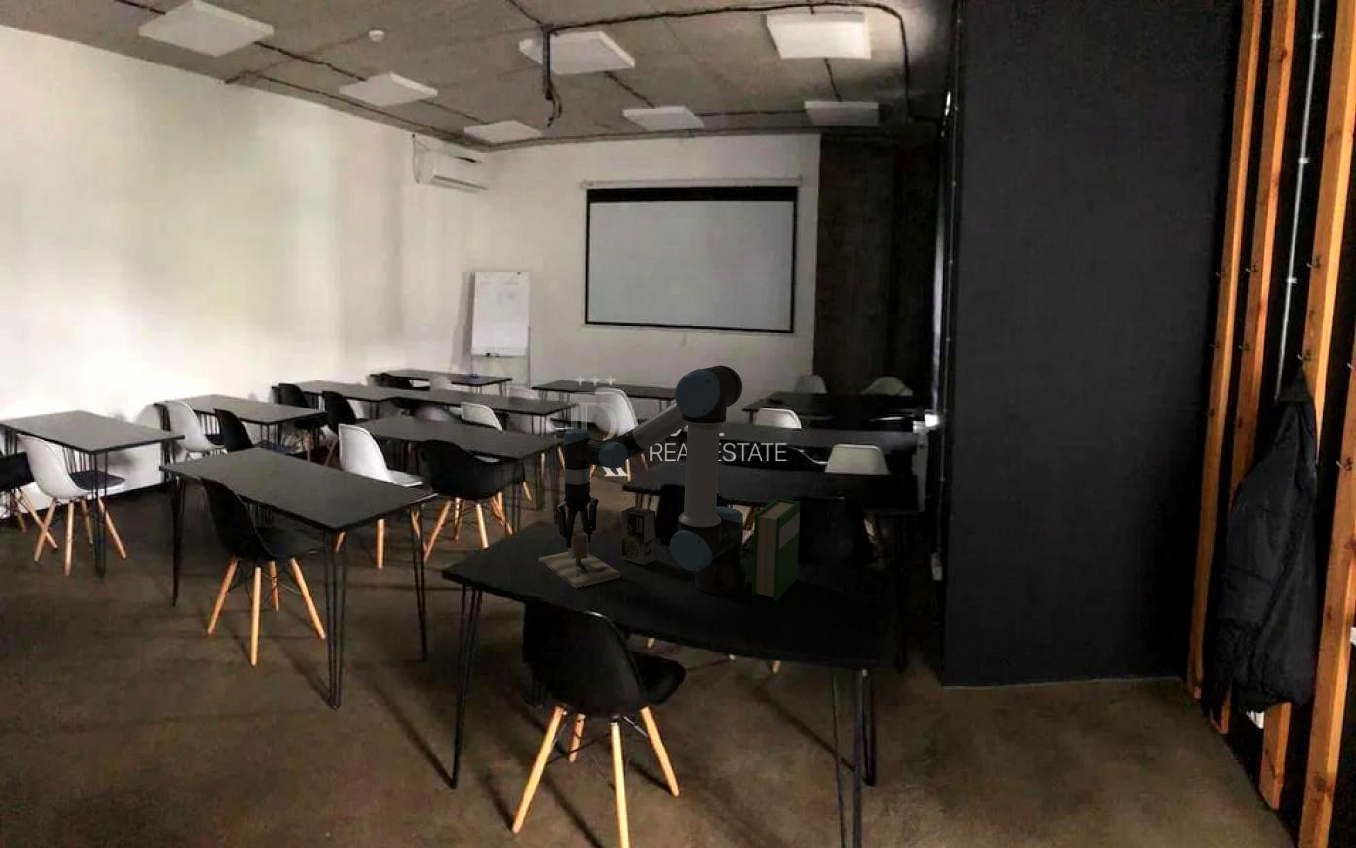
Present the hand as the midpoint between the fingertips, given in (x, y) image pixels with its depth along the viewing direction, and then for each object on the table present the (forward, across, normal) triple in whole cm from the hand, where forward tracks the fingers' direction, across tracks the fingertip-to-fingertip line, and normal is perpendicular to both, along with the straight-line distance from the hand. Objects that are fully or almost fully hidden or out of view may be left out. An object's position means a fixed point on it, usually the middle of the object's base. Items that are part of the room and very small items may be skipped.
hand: (578, 555), depth 233 cm
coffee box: (+5, -20, +4) cm, 21 cm away
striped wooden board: (+5, 0, 0) cm, 5 cm away
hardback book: (+5, -40, +44) cm, 60 cm away
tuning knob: (+3, +1, +2) cm, 4 cm away
